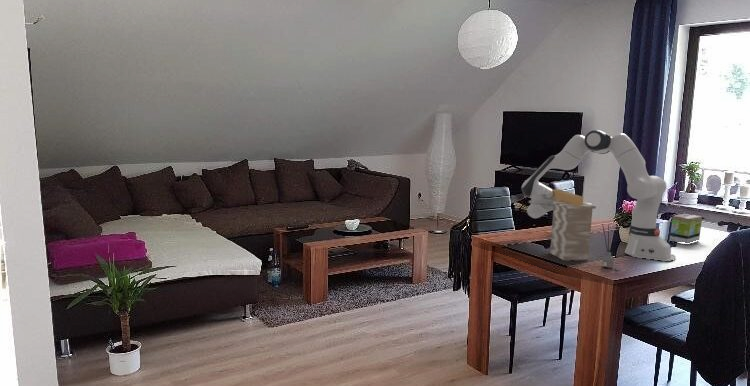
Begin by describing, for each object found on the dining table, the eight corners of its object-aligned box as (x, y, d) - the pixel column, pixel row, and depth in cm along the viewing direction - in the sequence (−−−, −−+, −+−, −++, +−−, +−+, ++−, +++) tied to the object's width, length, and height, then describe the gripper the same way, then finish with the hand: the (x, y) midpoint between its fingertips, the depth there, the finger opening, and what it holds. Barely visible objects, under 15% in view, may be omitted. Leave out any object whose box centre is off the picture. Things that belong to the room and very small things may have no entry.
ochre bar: (551, 197, 282) (552, 189, 281) (558, 197, 282) (559, 189, 282) (574, 205, 260) (575, 197, 260) (582, 205, 261) (583, 196, 261)
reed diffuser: (595, 266, 254) (599, 223, 251) (603, 263, 258) (607, 221, 255) (616, 271, 246) (621, 227, 243) (624, 269, 250) (628, 225, 247)
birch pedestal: (547, 252, 276) (551, 200, 272) (573, 251, 279) (577, 200, 275) (564, 261, 261) (568, 206, 257) (591, 260, 263) (595, 206, 259)
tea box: (688, 245, 298) (691, 218, 296) (668, 242, 306) (671, 215, 303) (699, 242, 308) (702, 215, 305) (680, 238, 315) (683, 212, 313)
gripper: (526, 197, 291) (537, 187, 278) (562, 197, 295) (575, 187, 282) (528, 208, 289) (540, 199, 276) (564, 208, 292) (577, 199, 280)
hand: (558, 193), depth 279 cm, fingers closed on ochre bar, 4 cm apart
